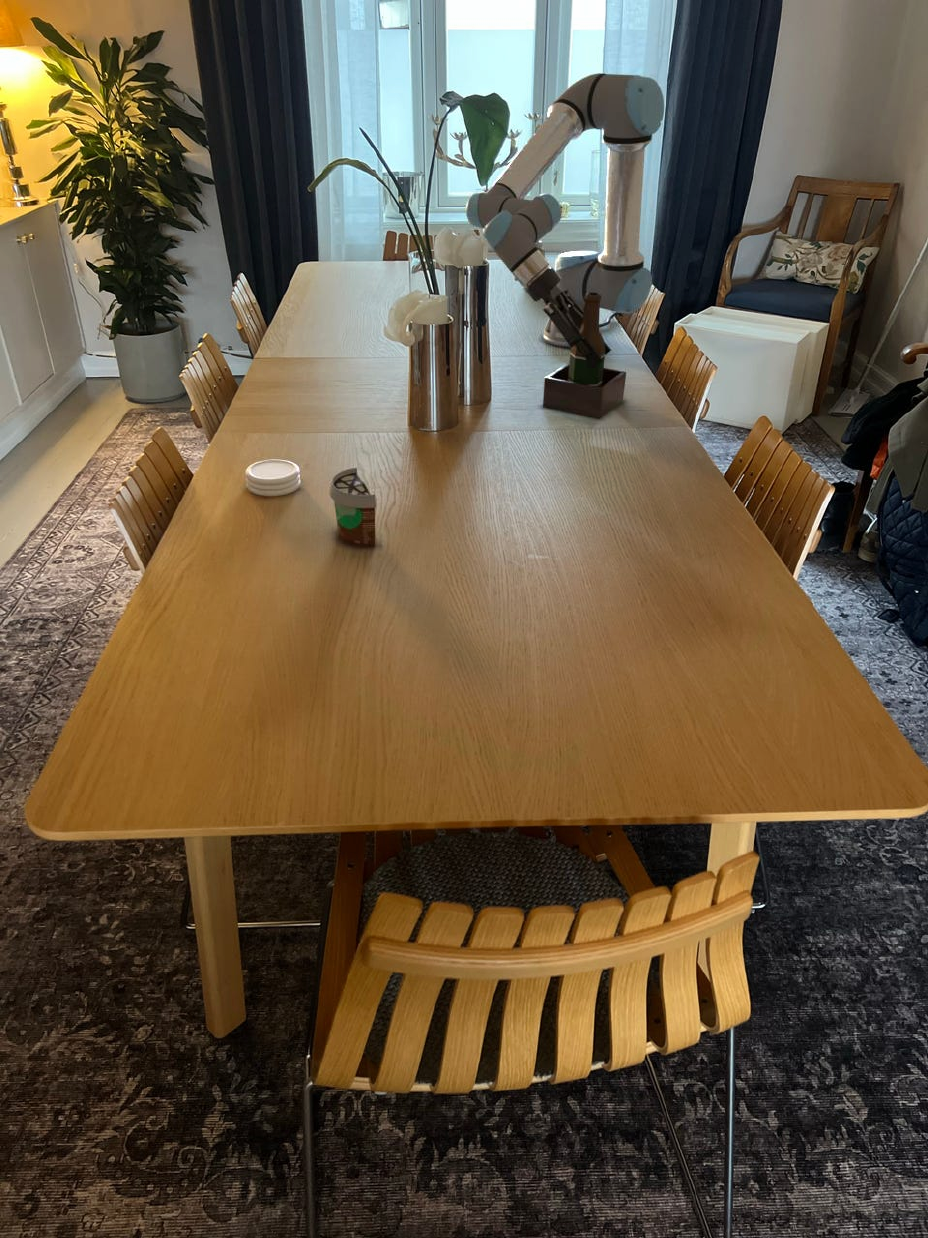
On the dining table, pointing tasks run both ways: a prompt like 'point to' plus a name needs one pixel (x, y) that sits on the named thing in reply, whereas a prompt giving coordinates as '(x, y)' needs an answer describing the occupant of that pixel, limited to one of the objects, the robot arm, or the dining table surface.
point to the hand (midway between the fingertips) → (602, 359)
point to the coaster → (272, 478)
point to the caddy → (583, 393)
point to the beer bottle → (590, 330)
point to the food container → (353, 509)
